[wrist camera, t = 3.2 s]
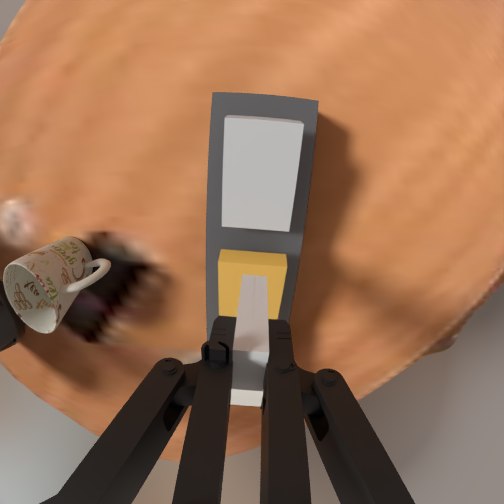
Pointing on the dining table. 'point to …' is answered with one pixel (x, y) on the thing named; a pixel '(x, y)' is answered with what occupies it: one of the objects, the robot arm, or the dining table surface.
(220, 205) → the power strip
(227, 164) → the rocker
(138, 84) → the dining table surface
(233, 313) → the block
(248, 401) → the block
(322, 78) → the dining table surface
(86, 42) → the dining table surface
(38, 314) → the mug
